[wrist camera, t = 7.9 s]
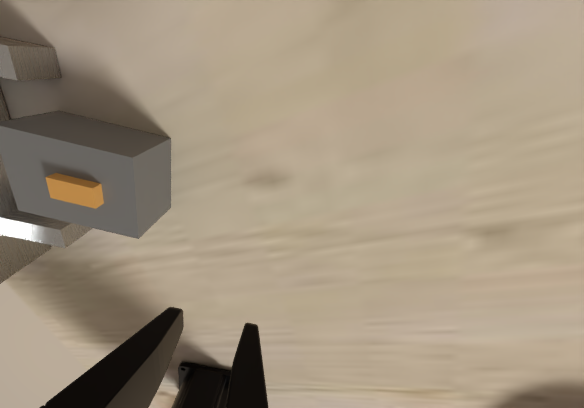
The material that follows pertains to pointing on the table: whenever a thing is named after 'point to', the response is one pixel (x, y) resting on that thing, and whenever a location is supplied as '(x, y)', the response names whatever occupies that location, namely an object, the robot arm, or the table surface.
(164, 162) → the block
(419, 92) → the table surface
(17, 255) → the rail
